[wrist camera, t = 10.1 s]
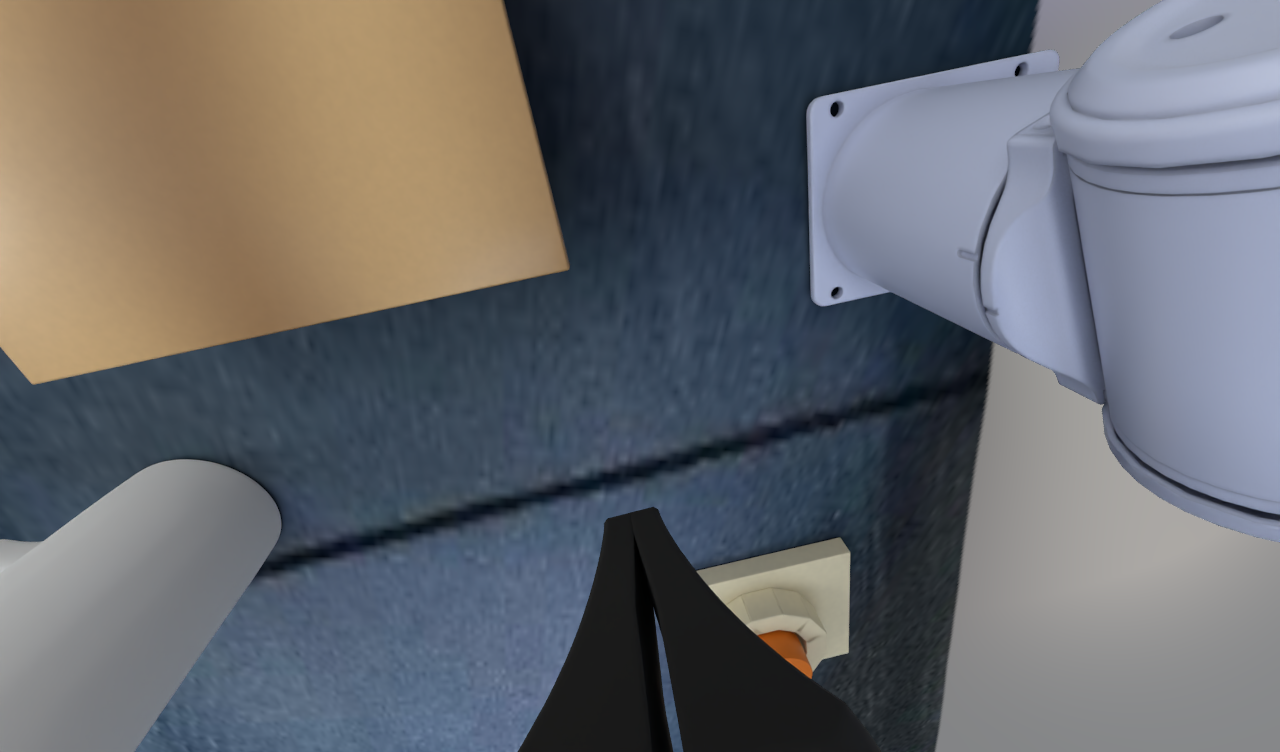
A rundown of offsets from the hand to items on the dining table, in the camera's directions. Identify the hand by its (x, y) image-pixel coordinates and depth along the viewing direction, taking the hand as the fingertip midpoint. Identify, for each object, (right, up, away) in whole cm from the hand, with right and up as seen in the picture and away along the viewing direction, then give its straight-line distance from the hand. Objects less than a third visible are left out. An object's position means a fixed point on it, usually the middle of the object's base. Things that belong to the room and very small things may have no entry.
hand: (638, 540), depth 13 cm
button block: (+7, -10, +17) cm, 21 cm away
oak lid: (-10, +11, -2) cm, 15 cm away
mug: (-21, -2, +9) cm, 23 cm away
